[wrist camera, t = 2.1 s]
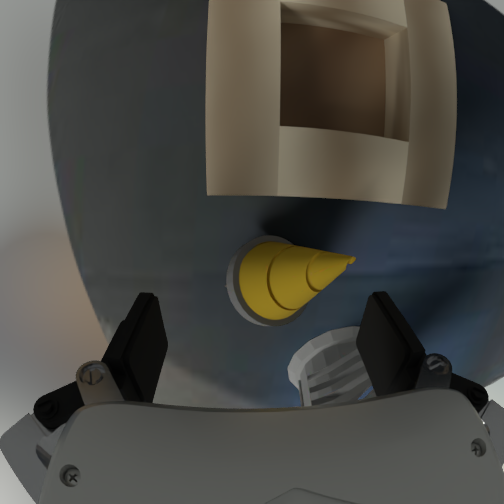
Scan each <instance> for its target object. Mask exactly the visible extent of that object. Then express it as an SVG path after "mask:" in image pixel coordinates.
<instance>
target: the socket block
mask: <svg viewBox="0 0 504 504" xmlns="http://www.w3.org/2000/svg"><path fill="white" fill-rule="evenodd" d="M456 119H457V83H456V65H455V54H454V45H453V37H452V30H451V24H450V18H449V13H448V8H447V4H446V3H444V2H442V1H440V0H209V12H208V32H207V59H206V175H207V195H256V196H292V197H315V198H333V199H349V200H362V201H375V202H386V203H396V204H406V205H415V206H424V207H432V208H440V209H446V206H447V200H448V195H449V189H450V182H451V176H452V168H453V160H454V150H455V138H456Z"/></svg>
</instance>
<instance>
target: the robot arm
mask: <svg viewBox="0 0 504 504" xmlns="http://www.w3.org/2000/svg"><path fill="white" fill-rule="evenodd" d="M356 346H357V349H358V351H359V354H360V356H361V358H362V361H363V363H364V366H365V368H366V371H367V373H368V376H369V378H370V381H371V383H372V386H373V388H374V391H375V393H376V396H377V397H372V398H366V399H360V400H354V401H347V402H340V403H332V404H323V405H314V406H302V407H288V408H265V409H224V408H202V407H188V406H175V405H164V404H155V403H152V402H153V398H154V394H155V391H156V387H157V383H158V380H159V376H160V373H161V369H162V366H163V362H164V359H165V355H166V352H167V348H168V341H167V337H166V333H165V328H164V324H163V320H162V315H161V310H160V306H159V301H158V297H157V296H154V294H153V293H142V292H141V293H139V295H138V297H137V298H136V300H135V302H134V304H133V306H132V308H131V309H130V311H129V313H128V315H127V317H126V319H125V320H123V321H122V322H121V323H120V325H119V327H118V329H117V330H116V332H115V334H114V336H113V338H112V340H111V342H110V344H109V346H108V348H107V350H106V352H105V354H104V356H103V358H102V360H101V361H89V362H86V363H84V364H83V365H82V366H80V367H79V369H78V370H77V372H76V381H74V382H72V383H70V384H68V385H66V386H64V387H61V388H59V389H57V390H55V391H53V392H50V393H48V394H46V395H43V396H42V397H40V398H39V399H38V400H37V401H36V403H35V405H34V409H33V410H34V413H33V414H32V415H30V414H29V413H28V414H27V415H25V416H24V417H23V418H22V419H21V420H19V421H18V422H17V423H16V424H15V425H13V426H12V427H11V428H10V429H9V430H7V431H6V432H5V433H4V434H3V435H2V436H1V439H0V449H1V451H2V453H3V455H4V456H5V458H6V460H7V461H8V463H9V465H10V466H11V468H12V470H13V471H14V473H15V474H16V476H17V477H18V479H19V480H20V482H21V483H22V485H23V486H24V488H25V489H26V491H27V492H28V493H29V495H30V496H31V497H32V499H33V500H34V501H35V502H36V504H504V472H503V469H502V465H503V463H504V408H502V407H501V406H500V405H499V404H497V403H496V402H495V401H493V400H491V401H488V394H487V391H486V390H485V388H484V387H483V386H481V385H480V384H477V383H475V382H473V381H470V380H468V379H466V378H463V377H461V376H459V375H456V374H454V373H452V365H451V363H450V361H449V360H448V359H447V358H446V357H445V356H443V355H441V354H437V353H432V354H429V355H426V354H425V349H424V347H423V346H422V344H421V343H420V341H419V340H418V338H417V336H416V335H415V333H414V332H413V330H412V329H411V327H410V326H409V324H408V323H407V321H406V320H405V318H404V317H403V315H402V314H401V312H400V311H399V310H398V308H397V307H396V305H395V304H394V302H393V301H392V299H391V298H390V297H389V295H388V294H387V293H386V292H385V291H382V292H373V294H372V295H370V296H369V298H368V301H367V305H366V308H365V312H364V315H363V319H362V322H361V325H360V328H359V332H358V335H357V338H356Z"/></svg>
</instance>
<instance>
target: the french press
mask: <svg viewBox="0 0 504 504" xmlns="http://www.w3.org/2000/svg"><path fill="white" fill-rule="evenodd" d="M359 328H360V327H356V326H350V327H346V328H341V329H335V330H330V331H328V332H326V333H324V334H322V335H320V336H318V337H316V338H314V339H312V340H309V341H308V342H307V343H306V344H305V345H304V346H303V347H302V348H300V349H299V350H298V351H297V352H296V353H295V354H294V355H293V358H292V360H291V362H290V364H289V366H288V374H289V380H290V381H291V382H292V383H293V384H294V385H295V386H296V387H297V388H298V389H299V393H300V401H301V407H302V406H314V405H323V404H332V403H340V402H347V401H354V400H357V399H358V398H359V397H360V396H361V395H362V394H363V393H364V392H365V391H366V390H367V389H368V388H369V387H370V386H372V383H371V381H370V378H369V376H368V373H367V371H366V368H365V366H364V363H363V361H362V358H361V356H360V354H359V351H358V349H357V346H356V338H357V335H358V332H359ZM302 393H303V394H302ZM372 397H377V396H376V393H375V391H374V389H373V390H372V391H371V392H370V393H369V394H368V395H367V396H366V397H365V398H363V399H366V398H372ZM303 401H304V402H303Z"/></svg>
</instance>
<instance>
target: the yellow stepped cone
mask: <svg viewBox="0 0 504 504" xmlns="http://www.w3.org/2000/svg"><path fill="white" fill-rule="evenodd" d="M355 260H356V258H355V257H352V256H348V255H343V254H338V253H332V252H327V251H322V250H317V249H312V248H307V247H301V246H296V245H293V244H292V243H291V242H289V241H288V240H286V239H284V238H281V237H278V236H272V235H268V236H261V237H258V238H255V239H253V240H252V241H250V242H248V243H246V244H245V245H243V246H242V247H240V248H239V249H238V250H237V251H236V253H235V254H234V255H233V257H232V259H231V261H230V263H229V266H228V270H227V280H226V284H227V285H225V287H227V290H228V294H229V297H230V299H231V302H232V304H233V305H234V307H235V309H236V310H237V311H238V312H239V313H240V314H241V315H242V316H243V317H244V318H246V319H247V320H248V321H250V322H252V323H255V324H257V325H262V326H281V325H285V324H288V323H290V322H292V321H294V320H295V319H296V318H297V317H298V316H300V315H301V313H302V312H303V311H304V309H305V308H306V306H307V304H308V302H309V300H311V299H312V298H313V297H314V296H315V295H317V294H318V293H319V292H320V291H321V290H322V289H324V288H325V287H326V286H327V285H328V284H329V283H331V282H332V281H333V280H334V279H335V278H336V277H337V276H339V275H340V274H341V273H342V272H343V271H344V270H345V269H346V265H347V264H348V263H349V264H352V263H353V262H354V261H355Z"/></svg>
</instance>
